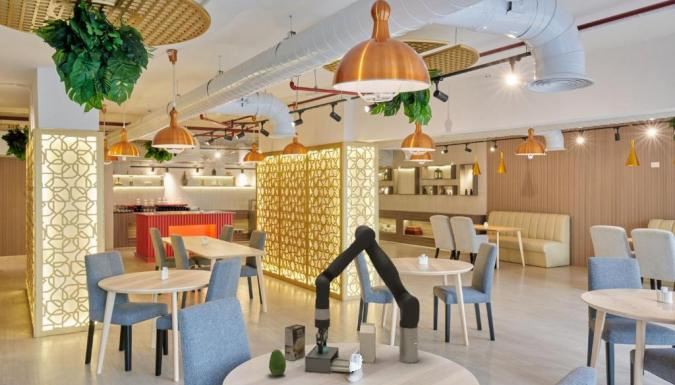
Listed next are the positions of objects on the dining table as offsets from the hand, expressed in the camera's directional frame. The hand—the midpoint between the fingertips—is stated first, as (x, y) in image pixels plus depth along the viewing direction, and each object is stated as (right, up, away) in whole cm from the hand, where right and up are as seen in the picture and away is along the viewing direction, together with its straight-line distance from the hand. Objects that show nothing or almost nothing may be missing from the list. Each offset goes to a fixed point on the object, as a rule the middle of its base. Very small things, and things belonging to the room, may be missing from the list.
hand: (322, 351), depth 259 cm
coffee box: (-14, -8, +13) cm, 21 cm away
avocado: (-20, -8, -12) cm, 25 cm away
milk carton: (+23, -8, +9) cm, 26 cm away
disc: (0, -1, 0) cm, 1 cm away
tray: (+10, -7, -2) cm, 12 cm away
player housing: (0, -7, 0) cm, 7 cm away
